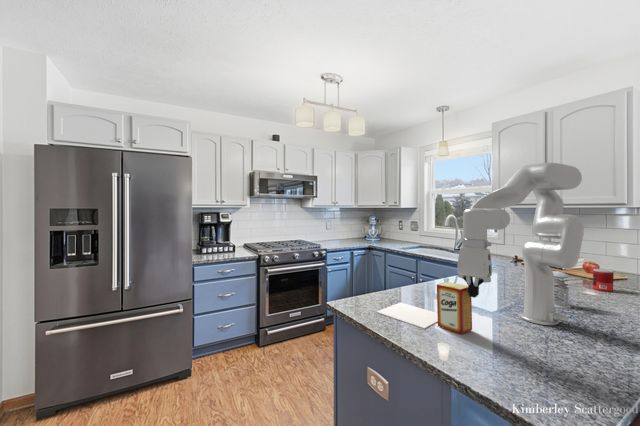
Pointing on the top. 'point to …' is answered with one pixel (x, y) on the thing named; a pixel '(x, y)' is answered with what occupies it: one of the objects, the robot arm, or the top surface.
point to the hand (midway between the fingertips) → (473, 296)
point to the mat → (410, 315)
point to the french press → (561, 291)
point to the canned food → (603, 280)
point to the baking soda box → (454, 307)
